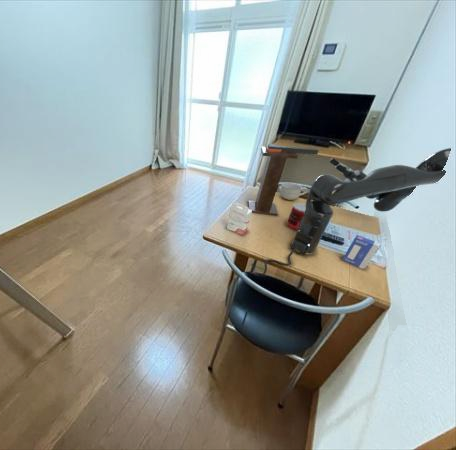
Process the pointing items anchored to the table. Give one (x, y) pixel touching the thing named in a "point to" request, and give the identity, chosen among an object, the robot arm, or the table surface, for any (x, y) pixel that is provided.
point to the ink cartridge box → (239, 218)
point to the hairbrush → (291, 149)
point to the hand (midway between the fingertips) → (334, 162)
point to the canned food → (296, 215)
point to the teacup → (291, 191)
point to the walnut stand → (270, 182)
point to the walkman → (361, 251)
